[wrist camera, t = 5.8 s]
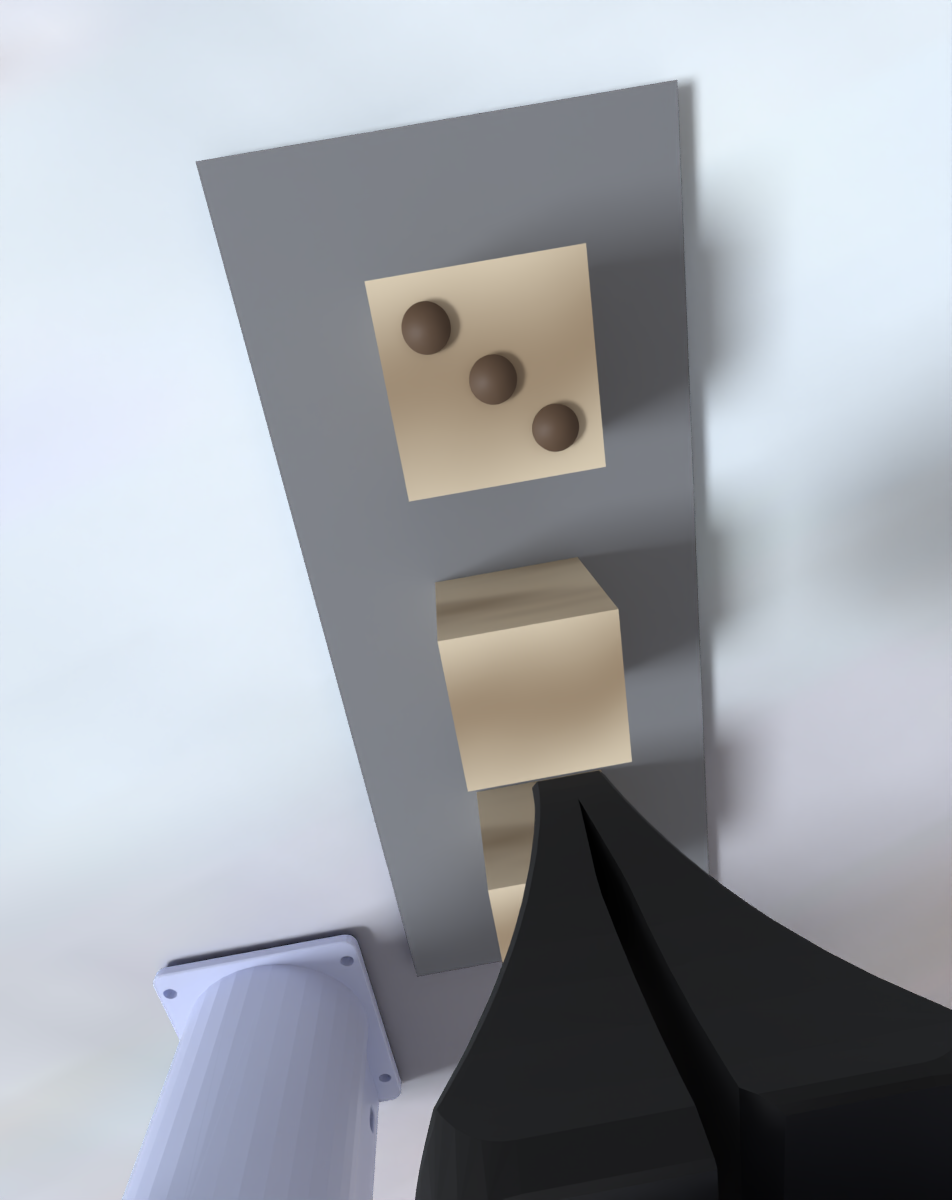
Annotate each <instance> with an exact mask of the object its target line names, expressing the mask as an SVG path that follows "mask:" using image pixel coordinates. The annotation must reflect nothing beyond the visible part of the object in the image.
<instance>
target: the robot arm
mask: <svg viewBox="0 0 952 1200" xmlns="http://www.w3.org/2000/svg"><path fill="white" fill-rule="evenodd" d="M532 791H533V797H534V804H535V821H534V835H533V843H532V851H531V859H530V865H529V870H528V875H527V880H526V885H525V889H524V894H523V899H522V903H521V907H520V911H519V915H518V918H517V922H516V925H515V929H514V932H513V935H512V939H511V942H510V945H509V948H508V951H507V954H506V956H505V959H504V962H503V965H502V968H501V970H500V973H499V976H498V979H497V981H496V984H495V986H494V989H493V991H492V994H491V996H490V998H489V1001H488V1003H487V1005H486V1007H485V1009H484V1012H483V1014H482V1016H481V1018H480V1020H479V1023H478V1025H477V1027H476V1029H475V1031H474V1034H473V1036H472V1038H471V1040H470V1042H469V1044H468V1046H467V1048H466V1050H465V1052H464V1054H463V1056H462V1058H461V1060H460V1062H459V1063H458V1065H457V1067H456V1069H455V1071H454V1072H453V1074H452V1076H451V1078H450V1080H449V1082H448V1083H447V1085H446V1087H445V1089H444V1091H443V1092H442V1094H441V1096H440V1098H439V1100H438V1101H437V1103H436V1105H435V1107H434V1109H433V1113H432V1117H431V1121H430V1125H429V1129H428V1133H427V1137H426V1142H425V1146H424V1151H423V1155H422V1160H421V1165H420V1170H419V1176H418V1182H417V1189H416V1197H415V1200H952V1010H951V1009H949V1008H946V1007H944V1006H942V1005H940V1004H937V1003H935V1002H933V1001H931V1000H928V999H926V998H924V997H921V996H919V995H917V994H915V993H912V992H910V991H908V990H906V989H903V988H901V987H899V986H896V985H894V984H892V983H890V982H887V981H885V980H883V979H881V978H878V977H876V976H874V975H872V974H870V973H868V972H866V971H864V970H862V969H860V968H858V967H856V966H854V965H852V964H850V963H848V962H847V961H845V960H843V959H841V958H839V957H837V956H835V955H833V954H831V953H829V952H827V951H825V950H824V949H822V948H820V947H818V946H816V945H815V944H813V943H811V942H810V941H808V940H806V939H805V938H803V937H801V936H799V935H798V934H796V933H794V932H793V931H791V930H789V929H788V928H786V927H784V926H782V925H781V924H779V923H777V922H776V921H774V920H772V919H771V918H769V917H768V916H766V915H765V914H763V913H762V912H760V911H759V910H757V909H756V908H754V907H753V906H751V905H750V904H748V903H747V902H745V901H744V900H743V899H741V898H740V897H738V896H737V895H736V894H734V893H733V892H731V891H730V890H729V889H727V888H726V887H724V886H723V885H722V884H720V883H719V882H718V881H717V880H715V879H714V878H713V877H711V876H710V875H709V874H708V873H706V872H705V871H704V870H702V869H701V868H700V867H699V866H698V865H696V864H695V863H694V862H693V861H692V860H690V859H689V858H688V857H687V856H686V855H684V854H683V853H682V852H681V851H680V850H679V849H678V848H676V847H675V846H674V845H673V844H672V843H671V842H670V841H669V840H667V839H666V838H665V837H664V836H663V835H662V834H661V833H660V832H659V831H658V830H657V829H656V828H655V827H654V826H652V825H651V824H650V823H649V822H648V821H647V820H646V819H645V818H644V817H643V816H642V815H641V814H640V813H639V812H638V811H637V810H636V809H635V808H634V807H633V806H632V805H631V804H630V803H629V801H628V800H627V799H626V798H625V797H624V796H623V795H622V794H621V793H620V792H619V791H618V790H617V788H616V787H615V786H614V785H613V784H612V783H611V782H610V780H609V779H608V778H607V777H606V775H605V774H603V773H602V772H600V771H599V770H598V771H593V772H587V773H582V774H577V775H571V776H566V777H560V778H555V779H549V780H544V781H538V782H536V784H535V785H534V786H533V787H532ZM345 956H350V957H345ZM153 985H154V988H155V990H156V992H157V994H158V996H159V998H160V1000H161V1002H162V1004H163V1007H164V1009H165V1011H166V1013H167V1015H168V1017H169V1019H170V1021H171V1023H172V1025H173V1027H174V1029H175V1031H176V1033H177V1036H178V1038H179V1040H180V1042H179V1044H178V1047H177V1050H176V1053H175V1055H174V1058H173V1061H172V1064H171V1066H170V1069H169V1072H168V1075H167V1077H166V1080H165V1083H164V1085H163V1088H162V1091H161V1094H160V1096H159V1099H158V1102H157V1105H156V1107H155V1110H154V1113H153V1116H152V1118H151V1121H150V1124H149V1127H148V1129H147V1132H146V1135H145V1138H144V1140H143V1143H142V1146H141V1148H140V1151H139V1154H138V1157H137V1159H136V1162H135V1165H134V1168H133V1170H132V1173H131V1176H130V1179H129V1181H128V1184H127V1187H126V1190H125V1192H124V1195H123V1198H122V1200H373V1186H374V1170H375V1155H376V1139H377V1124H378V1108H379V1102H382V1101H388V1100H393V1099H396V1098H397V1097H398V1096H399V1095H400V1094H401V1080H400V1077H399V1073H398V1070H397V1067H396V1064H395V1061H394V1057H393V1054H392V1051H391V1048H390V1044H389V1041H388V1038H387V1035H386V1032H385V1028H384V1025H383V1022H382V1019H381V1015H380V1012H379V1009H378V1006H377V1003H376V999H375V996H374V993H373V990H372V986H371V983H370V980H369V977H368V974H367V970H366V967H365V964H364V961H363V957H362V954H361V951H360V948H359V945H358V942H357V940H356V938H354V937H353V936H350V935H339V936H333V937H328V938H323V939H317V940H312V941H306V942H301V943H296V944H290V945H285V946H279V947H274V948H269V949H263V950H258V951H252V952H247V953H242V954H236V955H231V956H225V957H220V958H215V959H209V960H204V961H198V962H193V963H188V964H182V965H177V966H171V967H166V968H163V969H160V970H159V971H158V972H157V974H156V976H155V979H154V981H153Z"/></svg>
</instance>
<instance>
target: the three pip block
mask: <svg viewBox="0 0 952 1200" xmlns="http://www.w3.org/2000/svg"><path fill="white" fill-rule="evenodd" d="M365 286H366V291H367V296H368V301H369V306H370V311H371V316H372V321H373V326H374V331H375V336H376V341H377V346H378V351H379V355H380V360H381V365H382V370H383V375H384V380H385V385H386V390H387V395H388V400H389V405H390V410H391V415H392V420H393V424H394V429H395V434H396V439H397V444H398V449H399V454H400V459H401V464H402V469H403V474H404V479H405V484H406V489H407V494H408V498H409V502H410V501H415V500H421V499H427V498H432V497H438V496H444V495H449V494H455V493H460V492H466V491H472V490H477V489H483V488H489V487H494V486H500V485H506V484H511V483H517V482H523V481H528V480H534V479H540V478H545V477H551V476H557V475H562V474H568V473H573V472H579V471H585V470H590V469H596V468H602V467H606V463H605V452H604V440H603V429H602V418H601V406H600V395H599V384H598V373H597V361H596V350H595V339H594V327H593V316H592V305H591V293H590V282H589V271H588V260H587V248H586V243H584V244H578V245H572V246H566V247H560V248H555V249H549V250H543V251H537V252H531V253H526V254H520V255H514V256H508V257H502V258H497V259H491V260H485V261H479V262H473V263H468V264H462V265H456V266H450V267H444V268H439V269H433V270H427V271H421V272H415V273H410V274H404V275H398V276H392V277H386V278H381V279H375V280H369V281H365Z"/></svg>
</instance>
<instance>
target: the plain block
mask: <svg viewBox="0 0 952 1200" xmlns="http://www.w3.org/2000/svg"><path fill="white" fill-rule="evenodd" d="M435 592H436V616H437V641H438V646H439V651H440V656H441V661H442V666H443V671H444V676H445V681H446V686H447V691H448V696H449V701H450V706H451V710H452V715H453V720H454V725H455V730H456V735H457V740H458V745H459V750H460V755H461V760H462V765H463V770H464V775H465V779H466V784H467V789H468V792H469V791H474V790H480V789H485V788H491V787H496V786H502V785H507V784H513V783H518V782H524V781H529V780H535V779H540V778H546V777H551V776H556V775H562V774H567V773H573V772H578V771H584V770H589V769H595V768H600V767H606V766H611V765H617V764H622V763H628V762H632V756H631V745H630V734H629V723H628V711H627V700H626V689H625V677H624V666H623V655H622V644H621V632H620V621H619V610H618V608H617V607H616V605H615V604H614V603H613V602H612V600H611V599H610V598H609V596H608V595H607V594H606V593H605V591H604V590H603V589H602V588H601V586H600V585H599V584H598V583H597V581H596V580H595V579H594V577H593V576H592V575H591V574H590V572H589V571H588V570H587V569H586V567H585V566H584V565H583V564H582V562H581V561H580V560H579V558H578V557H575V558H570V559H564V560H558V561H553V562H547V563H542V564H536V565H530V566H525V567H519V568H514V569H508V570H502V571H497V572H491V573H486V574H480V575H474V576H469V577H463V578H458V579H452V580H446V581H441V582H435Z"/></svg>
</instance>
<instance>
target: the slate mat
mask: <svg viewBox="0 0 952 1200" xmlns="http://www.w3.org/2000/svg"><path fill="white" fill-rule="evenodd" d="M196 165H197V168H198V172H199V176H200V180H201V183H202V187H203V191H204V194H205V198H206V202H207V205H208V209H209V213H210V216H211V220H212V224H213V227H214V231H215V235H216V238H217V242H218V246H219V249H220V253H221V257H222V260H223V264H224V268H225V271H226V275H227V279H228V282H229V286H230V290H231V293H232V297H233V301H234V304H235V308H236V312H237V316H238V319H239V323H240V327H241V330H242V334H243V338H244V341H245V345H246V349H247V352H248V356H249V360H250V363H251V367H252V371H253V374H254V378H255V382H256V385H257V389H258V393H259V396H260V400H261V404H262V407H263V411H264V415H265V418H266V422H267V426H268V429H269V433H270V437H271V440H272V444H273V448H274V452H275V455H276V459H277V463H278V466H279V470H280V474H281V477H282V481H283V485H284V488H285V492H286V496H287V499H288V503H289V507H290V510H291V514H292V518H293V521H294V525H295V529H296V532H297V536H298V540H299V543H300V547H301V551H302V554H303V558H304V562H305V565H306V569H307V573H308V577H309V580H310V584H311V588H312V591H313V595H314V599H315V602H316V606H317V610H318V613H319V617H320V621H321V624H322V628H323V632H324V635H325V639H326V643H327V646H328V650H329V654H330V657H331V661H332V665H333V668H334V672H335V676H336V679H337V683H338V687H339V690H340V694H341V698H342V701H343V705H344V709H345V713H346V716H347V720H348V724H349V727H350V731H351V735H352V738H353V742H354V746H355V749H356V753H357V757H358V760H359V764H360V768H361V771H362V775H363V779H364V782H365V786H366V790H367V793H368V797H369V801H370V804H371V808H372V812H373V815H374V819H375V823H376V826H377V830H378V834H379V837H380V841H381V845H382V849H383V852H384V856H385V860H386V863H387V867H388V871H389V874H390V878H391V882H392V885H393V889H394V893H395V896H396V900H397V904H398V907H399V911H400V915H401V918H402V922H403V926H404V929H405V933H406V937H407V940H408V944H409V948H410V951H411V955H412V959H413V962H414V966H415V970H416V974H417V977H418V976H424V975H429V974H435V973H440V972H445V971H451V970H456V969H461V968H467V967H472V966H478V965H483V964H488V963H494V962H499V961H502V957H501V952H500V947H499V942H498V937H497V932H496V927H495V922H494V918H493V913H492V908H491V903H490V898H489V893H488V886H487V878H486V869H485V861H484V852H483V844H482V835H481V827H480V818H479V810H478V801H477V793H476V792H480V791H486V790H491V789H497V788H502V787H508V786H513V785H519V784H524V783H530V782H535V781H541V780H546V779H551V778H557V777H562V776H568V775H573V774H579V773H584V772H590V771H595V770H601V771H602V773H603V774H605V775H606V777H607V778H608V779H609V780H610V782H611V783H612V784H613V785H614V786H615V787H616V788H617V790H618V791H619V792H620V793H621V794H622V795H623V796H624V797H625V798H626V799H627V800H628V801H629V803H630V804H631V805H632V806H633V807H634V808H635V809H636V810H637V811H638V812H639V813H640V814H641V815H642V816H643V817H644V818H645V819H646V820H647V821H648V822H649V823H650V824H651V825H652V826H654V827H655V828H656V829H657V830H658V831H659V832H660V833H661V834H662V835H663V836H664V837H665V838H666V839H667V840H669V841H670V842H671V843H672V844H673V845H674V846H675V847H676V848H678V849H679V850H680V851H681V852H682V853H683V854H684V855H686V856H687V857H688V858H689V859H690V860H692V861H693V862H694V863H695V864H696V865H698V866H699V867H700V868H701V869H702V870H704V871H705V872H706V873H708V874H709V864H708V839H707V814H706V788H705V763H704V738H703V713H702V688H701V663H700V638H699V613H698V588H697V563H696V538H695V513H694V487H693V462H692V437H691V412H690V387H689V362H688V337H687V312H686V287H685V262H684V237H683V212H682V187H681V161H680V136H679V111H678V86H677V80H674V81H668V82H662V83H656V84H650V85H644V86H638V87H632V88H626V89H621V90H615V91H609V92H603V93H597V94H591V95H585V96H579V97H573V98H568V99H562V100H556V101H550V102H544V103H538V104H532V105H526V106H520V107H515V108H509V109H503V110H497V111H491V112H485V113H479V114H473V115H467V116H462V117H456V118H450V119H444V120H438V121H432V122H426V123H420V124H414V125H408V126H403V127H397V128H391V129H385V130H379V131H373V132H367V133H361V134H355V135H350V136H344V137H338V138H332V139H326V140H320V141H314V142H308V143H302V144H297V145H291V146H285V147H279V148H273V149H267V150H261V151H255V152H249V153H243V154H238V155H232V156H226V157H220V158H214V159H208V160H202V161H196ZM584 243H586V248H587V260H588V271H589V282H590V293H591V305H592V316H593V327H594V339H595V350H596V361H597V373H598V384H599V395H600V406H601V418H602V429H603V440H604V452H605V463H606V467H602V468H596V469H590V470H585V471H579V472H573V473H568V474H562V475H557V476H551V477H545V478H540V479H534V480H528V481H523V482H517V483H511V484H506V485H500V486H494V487H489V488H483V489H477V490H472V491H466V492H460V493H455V494H449V495H444V496H438V497H432V498H427V499H421V500H415V501H410V502H409V498H408V494H407V489H406V484H405V479H404V474H403V469H402V464H401V459H400V454H399V449H398V444H397V439H396V434H395V429H394V424H393V420H392V415H391V410H390V405H389V400H388V395H387V390H386V385H385V380H384V375H383V370H382V365H381V360H380V355H379V351H378V346H377V341H376V336H375V331H374V326H373V321H372V316H371V311H370V306H369V301H368V296H367V291H366V286H365V281H369V280H375V279H381V278H386V277H392V276H398V275H404V274H410V273H415V272H421V271H427V270H433V269H439V268H444V267H450V266H456V265H462V264H468V263H473V262H479V261H485V260H491V259H497V258H502V257H508V256H514V255H520V254H526V253H531V252H537V251H543V250H549V249H555V248H560V247H566V246H572V245H578V244H584ZM575 557H578V558H579V560H580V561H581V562H582V564H583V565H584V566H585V567H586V569H587V570H588V571H589V572H590V574H591V575H592V576H593V577H594V579H595V580H596V581H597V583H598V584H599V585H600V586H601V588H602V589H603V590H604V591H605V593H606V594H607V595H608V596H609V598H610V599H611V600H612V602H613V603H614V604H615V605H616V607H617V608H618V610H619V621H620V632H621V644H622V655H623V666H624V677H625V689H626V700H627V711H628V723H629V734H630V745H631V756H632V762H628V763H622V764H617V765H611V766H606V767H600V768H595V769H589V770H584V771H578V772H573V773H567V774H562V775H556V776H551V777H546V778H540V779H535V780H529V781H524V782H518V783H513V784H507V785H502V786H496V787H491V788H485V789H480V790H474V791H469V792H468V789H467V784H466V779H465V775H464V770H463V765H462V760H461V755H460V750H459V745H458V740H457V735H456V730H455V725H454V720H453V715H452V710H451V706H450V701H449V696H448V691H447V686H446V681H445V676H444V671H443V666H442V661H441V656H440V651H439V646H438V641H437V616H436V592H435V582H441V581H446V580H452V579H458V578H463V577H469V576H474V575H480V574H486V573H491V572H497V571H502V570H508V569H514V568H519V567H525V566H530V565H536V564H542V563H547V562H553V561H558V560H564V559H570V558H575Z"/></svg>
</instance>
